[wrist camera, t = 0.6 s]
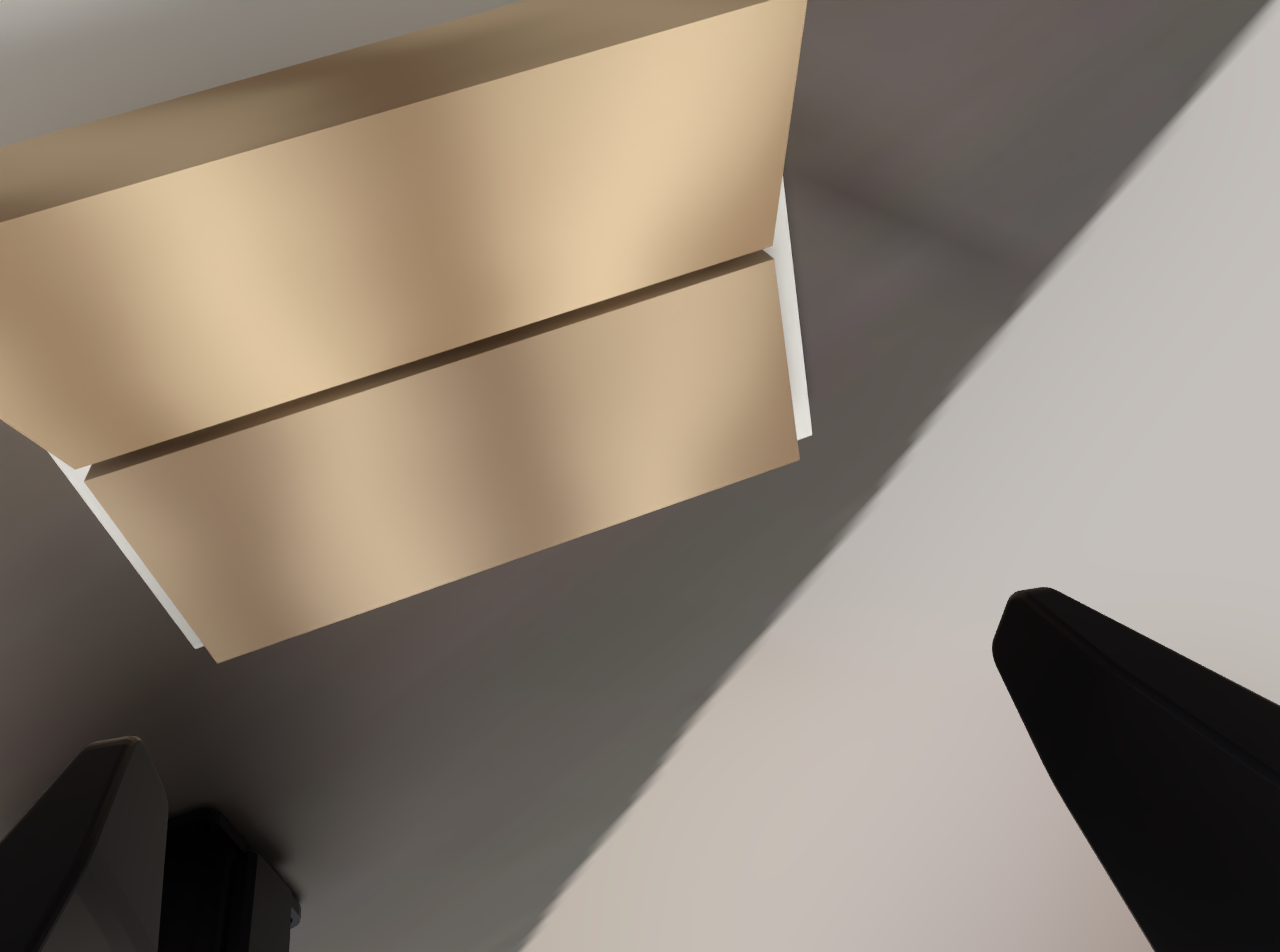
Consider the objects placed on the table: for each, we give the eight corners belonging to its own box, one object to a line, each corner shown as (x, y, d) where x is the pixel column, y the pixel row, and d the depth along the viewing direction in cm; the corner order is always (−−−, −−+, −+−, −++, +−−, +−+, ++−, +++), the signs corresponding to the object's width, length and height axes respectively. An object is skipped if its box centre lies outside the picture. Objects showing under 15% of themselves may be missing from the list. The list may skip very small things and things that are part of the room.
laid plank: (224, 622, 22) (217, 663, 21) (100, 444, 19) (83, 481, 17) (776, 431, 23) (799, 459, 22) (749, 238, 20) (774, 258, 19)
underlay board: (200, 623, 23) (195, 649, 22) (-212, 52, 15) (-244, 61, 14) (797, 417, 25) (812, 435, 24) (720, -192, 17) (740, -197, 16)
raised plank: (69, 408, 18) (74, 469, 17) (-198, 202, 12) (-203, 280, 12) (745, 196, 20) (772, 245, 19) (769, -69, 14) (808, -11, 13)
